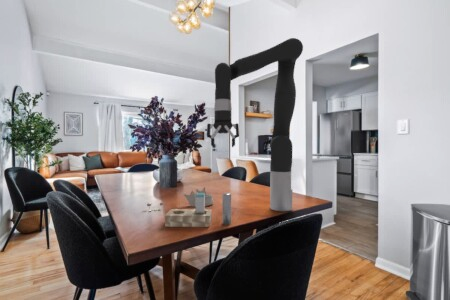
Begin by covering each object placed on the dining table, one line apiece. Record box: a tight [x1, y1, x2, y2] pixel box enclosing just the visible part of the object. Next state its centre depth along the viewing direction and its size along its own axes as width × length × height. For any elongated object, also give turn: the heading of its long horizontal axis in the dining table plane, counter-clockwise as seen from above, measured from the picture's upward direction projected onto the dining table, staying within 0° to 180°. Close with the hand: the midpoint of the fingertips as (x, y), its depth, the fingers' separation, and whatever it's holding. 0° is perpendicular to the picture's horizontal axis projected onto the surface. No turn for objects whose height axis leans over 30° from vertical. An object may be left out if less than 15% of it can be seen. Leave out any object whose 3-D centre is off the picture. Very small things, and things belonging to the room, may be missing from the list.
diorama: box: [146, 201, 164, 212], centre depth 115 cm, size 9×27×4 cm, turn 16°
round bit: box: [222, 192, 232, 226], centre depth 88 cm, size 3×3×11 cm
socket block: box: [164, 208, 213, 228], centre depth 89 cm, size 16×8×4 cm, turn 88°
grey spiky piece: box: [182, 186, 214, 207], centre depth 117 cm, size 13×11×10 cm
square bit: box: [194, 192, 206, 214], centre depth 89 cm, size 3×3×11 cm
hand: (223, 147), depth 106 cm, fingers open, 8 cm apart
